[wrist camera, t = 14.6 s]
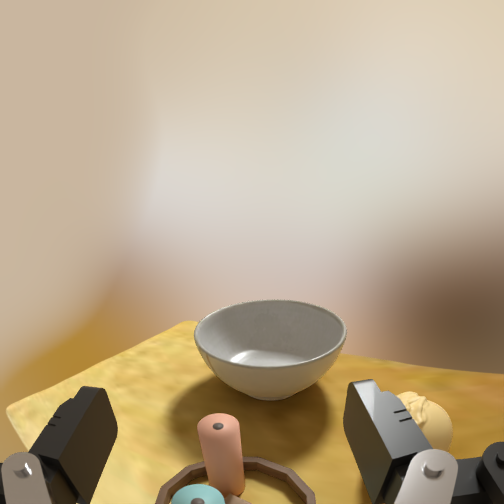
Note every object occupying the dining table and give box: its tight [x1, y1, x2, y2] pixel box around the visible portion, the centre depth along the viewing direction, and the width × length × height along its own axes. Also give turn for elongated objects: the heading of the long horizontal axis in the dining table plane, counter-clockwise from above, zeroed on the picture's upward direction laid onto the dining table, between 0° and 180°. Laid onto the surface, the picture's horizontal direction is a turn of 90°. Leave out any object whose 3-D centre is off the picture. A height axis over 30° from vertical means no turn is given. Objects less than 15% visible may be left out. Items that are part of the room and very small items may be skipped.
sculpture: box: [397, 392, 453, 452], centre depth 33 cm, size 12×12×11 cm
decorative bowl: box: [194, 300, 347, 401], centre depth 57 cm, size 27×27×12 cm
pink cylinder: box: [197, 413, 245, 498], centre depth 32 cm, size 5×5×12 cm
